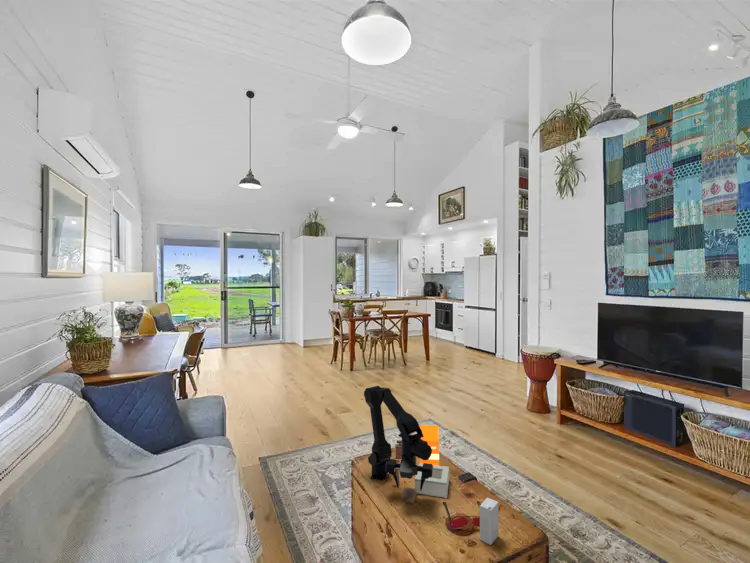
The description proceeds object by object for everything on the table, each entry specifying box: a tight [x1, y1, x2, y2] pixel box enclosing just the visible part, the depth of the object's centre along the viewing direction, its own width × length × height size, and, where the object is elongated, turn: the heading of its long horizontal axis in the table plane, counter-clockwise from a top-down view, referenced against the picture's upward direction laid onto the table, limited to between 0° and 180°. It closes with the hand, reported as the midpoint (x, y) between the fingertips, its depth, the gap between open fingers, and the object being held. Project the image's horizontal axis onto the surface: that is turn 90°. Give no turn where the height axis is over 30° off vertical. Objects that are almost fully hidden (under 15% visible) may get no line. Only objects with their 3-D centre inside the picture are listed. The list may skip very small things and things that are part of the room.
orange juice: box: [419, 424, 440, 466], centre depth 171 cm, size 8×9×20 cm
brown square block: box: [401, 486, 417, 504], centre depth 148 cm, size 5×5×3 cm
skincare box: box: [479, 497, 499, 546], centre depth 125 cm, size 6×4×12 cm
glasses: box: [442, 500, 482, 529], centre depth 137 cm, size 14×16×5 cm
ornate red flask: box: [394, 439, 402, 460], centre depth 179 cm, size 8×3×10 cm, turn 84°
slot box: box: [414, 462, 450, 499], centre depth 156 cm, size 13×13×6 cm
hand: (409, 488), depth 149 cm, fingers open, 9 cm apart
